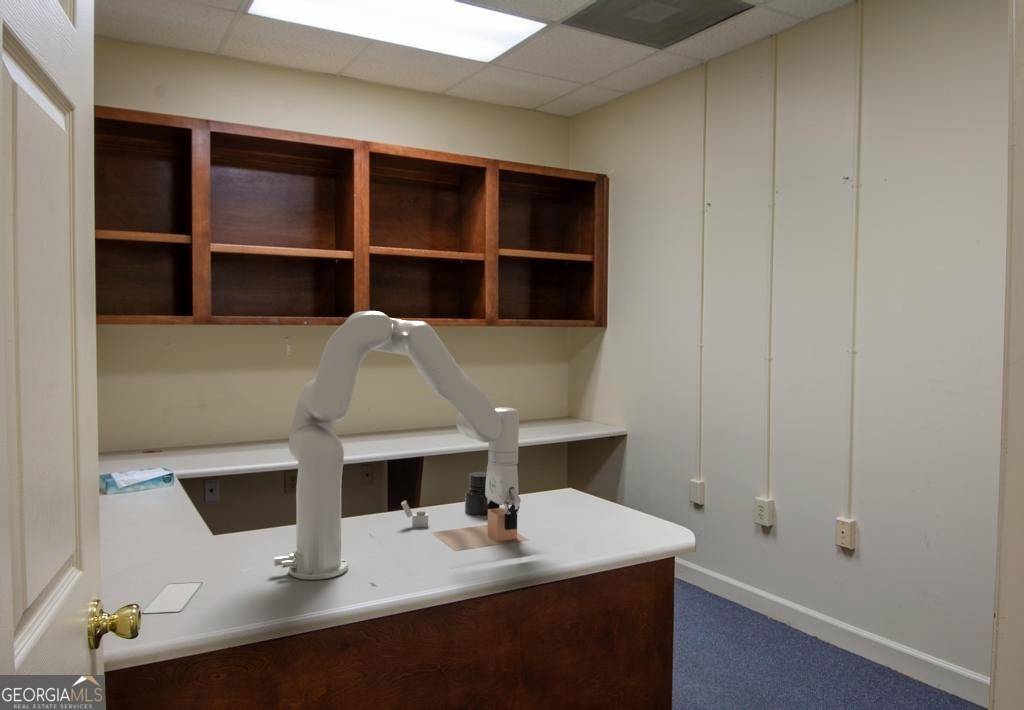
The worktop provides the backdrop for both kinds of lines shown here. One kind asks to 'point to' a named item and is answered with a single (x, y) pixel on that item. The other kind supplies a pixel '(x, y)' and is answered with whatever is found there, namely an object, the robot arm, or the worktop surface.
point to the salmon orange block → (499, 526)
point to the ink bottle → (476, 495)
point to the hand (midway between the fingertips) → (501, 523)
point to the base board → (471, 538)
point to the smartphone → (172, 598)
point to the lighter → (416, 516)
